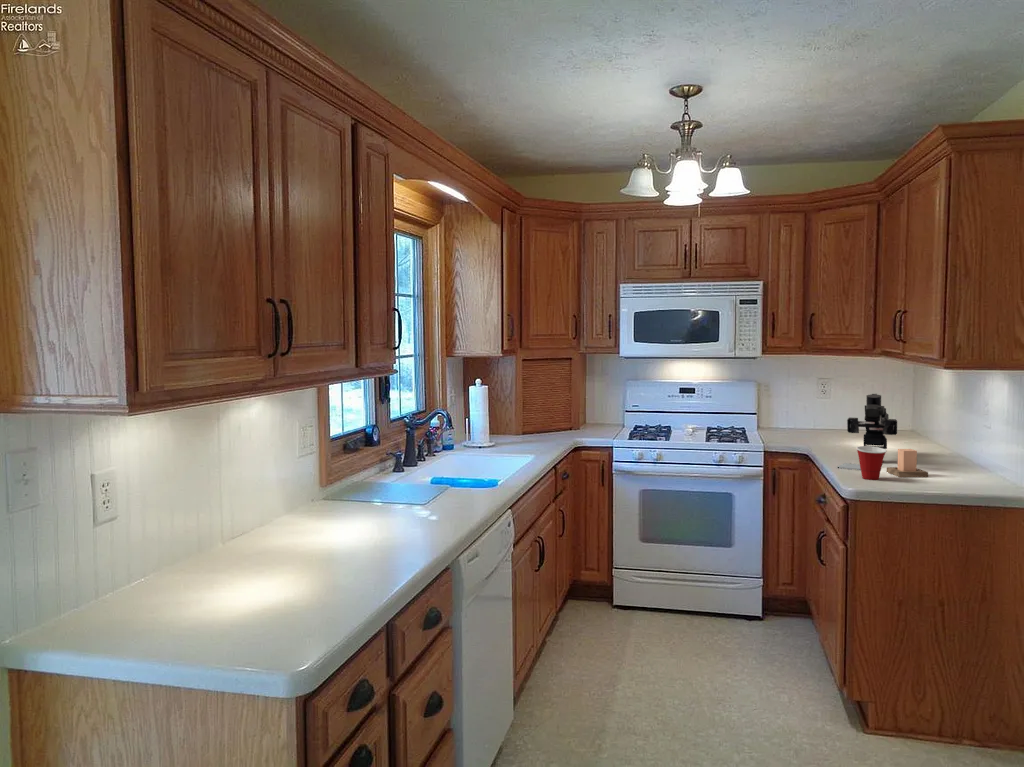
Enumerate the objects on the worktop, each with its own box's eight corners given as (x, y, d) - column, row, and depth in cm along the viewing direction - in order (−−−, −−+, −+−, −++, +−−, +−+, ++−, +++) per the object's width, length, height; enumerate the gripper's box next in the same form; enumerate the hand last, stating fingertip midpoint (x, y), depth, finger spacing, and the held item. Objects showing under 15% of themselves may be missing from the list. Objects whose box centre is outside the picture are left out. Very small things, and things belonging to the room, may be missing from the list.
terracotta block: (897, 473, 298) (897, 448, 297) (910, 473, 297) (910, 448, 297) (903, 475, 293) (903, 450, 292) (916, 475, 293) (916, 450, 292)
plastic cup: (869, 482, 281) (869, 450, 281) (849, 477, 292) (849, 446, 291) (893, 480, 284) (893, 449, 283) (872, 475, 295) (872, 445, 294)
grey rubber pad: (844, 464, 320) (844, 463, 320) (872, 467, 313) (872, 465, 313) (836, 468, 312) (836, 466, 312) (864, 470, 305) (864, 469, 305)
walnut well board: (886, 472, 301) (886, 467, 301) (914, 472, 300) (914, 467, 300) (899, 477, 290) (899, 472, 290) (928, 477, 289) (928, 472, 289)
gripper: (849, 401, 318) (845, 412, 305) (898, 403, 309) (896, 414, 296) (849, 426, 321) (845, 438, 308) (897, 428, 312) (896, 440, 299)
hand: (870, 432), depth 302 cm, fingers open, 9 cm apart
